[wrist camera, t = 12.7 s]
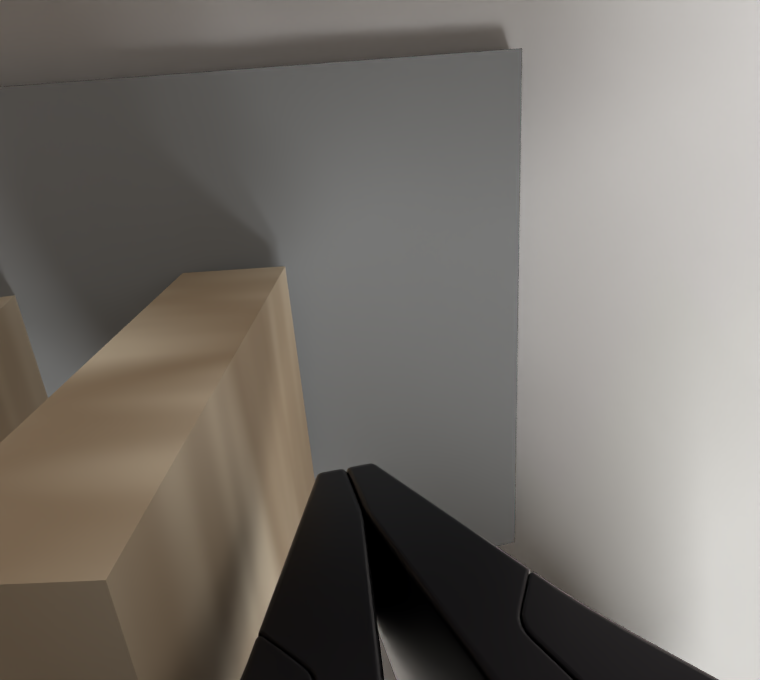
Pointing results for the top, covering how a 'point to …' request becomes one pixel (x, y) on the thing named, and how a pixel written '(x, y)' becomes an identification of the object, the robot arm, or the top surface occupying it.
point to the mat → (298, 241)
